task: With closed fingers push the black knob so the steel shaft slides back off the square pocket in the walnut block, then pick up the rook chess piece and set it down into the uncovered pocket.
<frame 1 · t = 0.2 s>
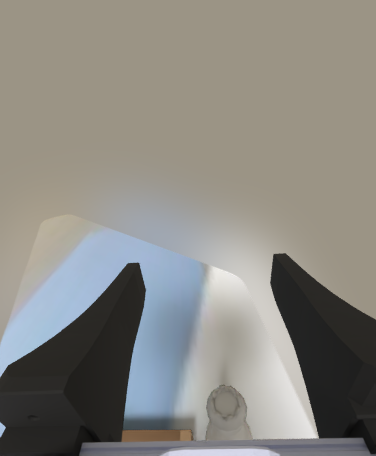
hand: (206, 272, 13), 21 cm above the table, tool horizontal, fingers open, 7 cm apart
rook chess piece: (229, 444, 24), on the table
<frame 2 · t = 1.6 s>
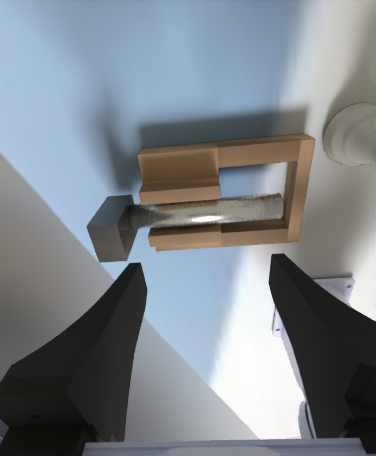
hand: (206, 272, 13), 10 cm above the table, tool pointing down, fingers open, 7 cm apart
rook chess piece: (348, 133, 19), on the table
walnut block: (222, 192, 22), on the table
shaft: (192, 220, 18), point 5 cm above the table, slide at 0.0 cm
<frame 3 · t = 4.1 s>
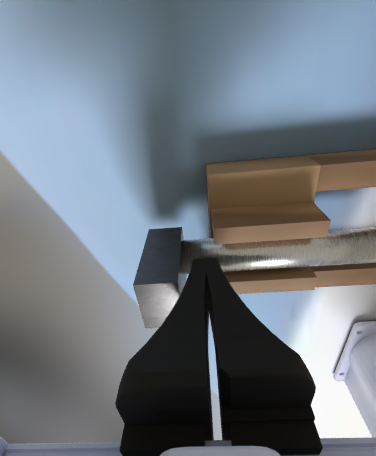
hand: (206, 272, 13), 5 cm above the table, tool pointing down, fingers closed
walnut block: (303, 219, 17), on the table
shaft: (270, 266, 13), point 5 cm above the table, slide at 0.7 cm, touching gripper
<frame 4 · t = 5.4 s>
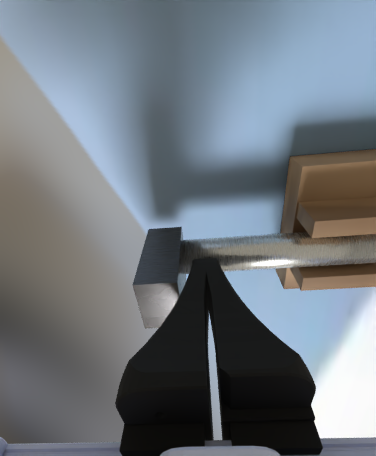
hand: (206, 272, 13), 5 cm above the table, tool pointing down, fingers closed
shaft: (270, 267, 13), point 5 cm above the table, slide at 5.8 cm, touching gripper
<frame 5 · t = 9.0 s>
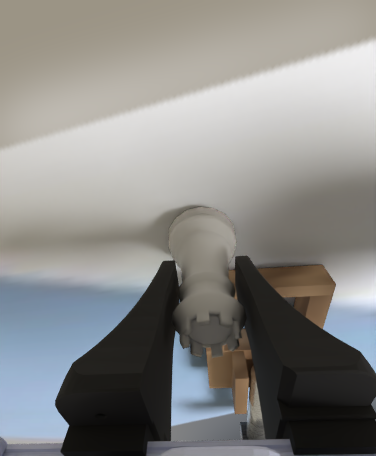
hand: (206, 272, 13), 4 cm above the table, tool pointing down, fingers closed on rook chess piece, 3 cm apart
rook chess piece: (201, 231, 17), on the table, touching gripper
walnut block: (255, 324, 22), on the table
shaft: (262, 429, 22), point 5 cm above the table, slide at 5.8 cm
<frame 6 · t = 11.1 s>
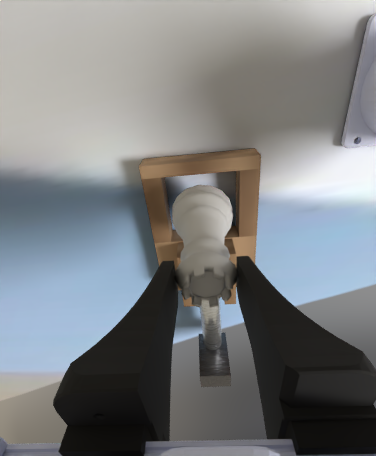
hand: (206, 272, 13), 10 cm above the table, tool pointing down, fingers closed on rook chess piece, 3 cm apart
rook chess piece: (201, 208, 19), point 3 cm above the table, touching gripper
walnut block: (203, 223, 23), on the table
shaft: (211, 324, 24), point 5 cm above the table, slide at 5.8 cm
when the fingers open (5 cm above the table, at t = 12.3 s): rook chess piece stays where it is, resting in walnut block.
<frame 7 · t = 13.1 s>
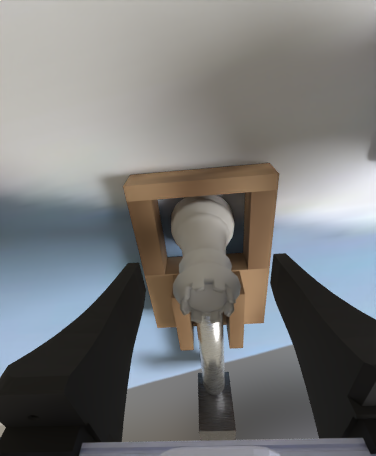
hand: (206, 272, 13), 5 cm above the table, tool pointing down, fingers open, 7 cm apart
rook chess piece: (201, 216, 18), resting in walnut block
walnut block: (204, 249, 19), on the table
shaft: (213, 370, 20), point 5 cm above the table, slide at 5.8 cm
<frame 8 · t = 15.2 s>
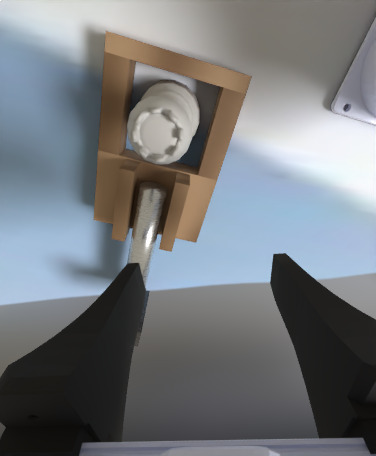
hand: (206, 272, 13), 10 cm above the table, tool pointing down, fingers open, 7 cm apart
rook chess piece: (170, 114, 19), resting in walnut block
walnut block: (163, 152, 20), on the table
shaft: (136, 268, 20), point 5 cm above the table, slide at 5.8 cm
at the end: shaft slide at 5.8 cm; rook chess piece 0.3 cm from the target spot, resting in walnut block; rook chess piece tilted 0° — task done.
